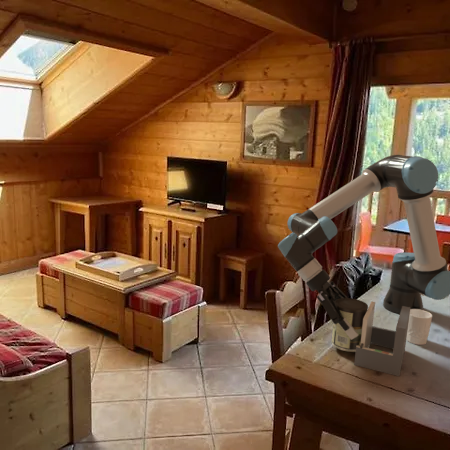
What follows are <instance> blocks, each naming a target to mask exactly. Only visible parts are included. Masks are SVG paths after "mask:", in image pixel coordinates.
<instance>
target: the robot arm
mask: <svg viewBox="0 0 450 450" xmlns="http://www.w3.org/2000/svg"><path fill="white" fill-rule="evenodd" d="M361 172H362V173H361V174H360V175H359V176H357V177H355V178H354V179H353V180H351V181H349V182H348V183H346V184H345V185H343V186H342V187H340V188H339V189H337V190H336V191H334V192H333V193H331V194H330V195H328V196H327V197H325V198H324V199H322V200H321V201H319V202H317V203H316V204H314V205H312V206H311V207H310V208H308V209H306V210H305V211H304V212H301V213H300V212H296V213H292V214H291V215H290V216H289V217H288V219H287V228H288V229H289V231H290V232H291V233H289V234H288V235H287V236H286V237H284V238H283V239H282V240H280V242H279V243H278V244H277V248H278V250H279V251H280V252H281V254H282V255H283V257H284V259H286V260H287V262H288V263H289V265H290V266H291V267H292V268H293V269H294V270H295V271H296V273H297V274H298V275H297V276H298V277H300V278H301V279H302V280H303V281H304V282H305V284H306V286H307V287H308V288H309V289H310V291H311V292H315V291H317V293H318V295H316V298H317V300H318V301H319V302H320V303H321V305H322V306H323V308H324V311H326V313H327V315H328V316H329V318H330V320H331V321H332V324H333V323H334V324H337V323H338V324H339V325H340V326H341V327H342V329H343V330H344V331H345V333H346V334H347V335H348V336H349V338H350V339H351V340H352V339H354V338H355V337H357V336H358V335H359V334H358V333H357V332H356V331H355V329H354V328H353V327H352V326H351V324H350V323H349V322H348V321H347V319H346V318H343V316H342V314H341V312H340V310H339V308H338V306H337V304H336V302H335V301H336V300H337V299H341V298H349V297H348V296H347V295H346V294H345V293H344V292H343V291H342V290H341V289H340V288H339V287H338V286H337V284H335V281H333V280H331V281H330V282H329V280H330V279H331V276H330V275H329V274H328V273H327V270H325V269H323V266H322V265H321V263H320V262H319V261H318V260H317V258H315V256H314V255H313V253H314V252H316V251H317V250H318V249H320V248H321V247H322V246H324V245H325V244H327V243H328V242H329V241H331V240H332V239H333V238H334V237H335V236H337V234H338V228H337V226H336V224H335V222H333V220H332V219H333V218H335V217H336V216H338V215H339V214H341V213H342V212H344V211H345V210H347V209H349V208H350V207H352V206H353V205H356V203H358V202H360V201H361V200H363V199H364V198H366V197H368V196H369V195H370V194H372V193H373V192H376V193H378V192H380V191H382V190H383V189H386V188H396V195H397V198H398V200H400V201H402V202H403V205H404V209H405V214H406V219H407V220H406V221H407V225H408V226H407V227H408V230H409V236H410V241H411V245H412V252H397V253H395V254H394V255H393V259H392V262H391V275H390V283H389V288H388V290H387V292H386V295H385V296H384V298H383V300H382V301H383V303H382V306H383V307H384V309H386V310H387V311H389V312H392V313H395V314H397V315H398V314H399V315H400V312H401V309H402V306H405V307H410V309H420V310H424V303H423V299H422V295H424V296H425V297H427V298H429V299H433V300H436V301H439V300H440V301H441V300H443V299H446V298H448V297H449V296H450V270H448V265H447V261H446V258H444V257H443V256H441V253H440V247H439V242H438V235H437V230H436V223H435V219H434V213H433V208H432V202H431V197H432V195H433V193H434V192H435V191H434V188H436V185H437V182H438V181H439V171H438V169H437V166H436V165H435V163H434V162H433V161H431V160H430V159H428V158H425V157H422V156H416V155H415V156H413V155H403V154H393V155H388V156H385V157H383V158H381V159H380V160H378V161H376V162H374V163H373V164H371V165H369V166H368V167H366V168H364V169H363V170H362V171H361Z"/></svg>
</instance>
